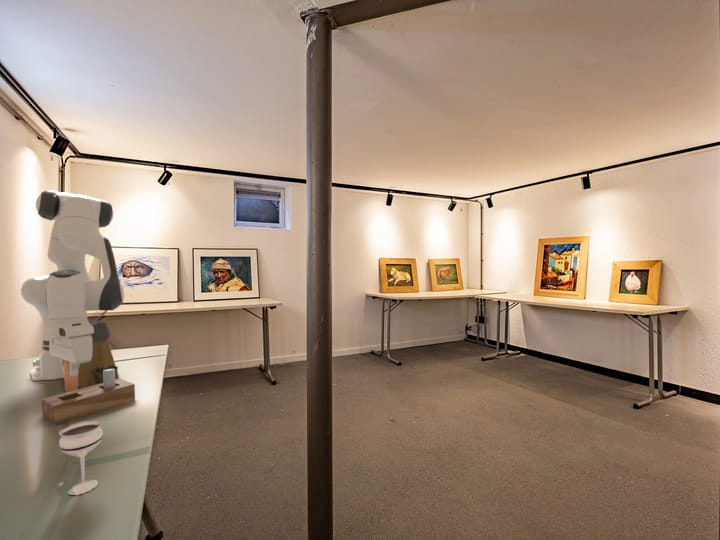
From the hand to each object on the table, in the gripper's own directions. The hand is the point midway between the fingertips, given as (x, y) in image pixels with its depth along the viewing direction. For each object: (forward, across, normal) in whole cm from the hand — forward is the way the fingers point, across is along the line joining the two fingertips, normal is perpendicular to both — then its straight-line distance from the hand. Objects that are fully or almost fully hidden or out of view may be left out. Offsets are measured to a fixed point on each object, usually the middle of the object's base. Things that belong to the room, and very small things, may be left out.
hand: (70, 374), depth 102 cm
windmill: (+12, -25, +16) cm, 32 cm away
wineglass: (+12, +43, -12) cm, 46 cm away
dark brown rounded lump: (+12, -11, +13) cm, 21 cm away
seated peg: (+12, 0, +10) cm, 15 cm away
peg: (+5, 0, 0) cm, 5 cm away
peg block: (+12, 0, +5) cm, 13 cm away
